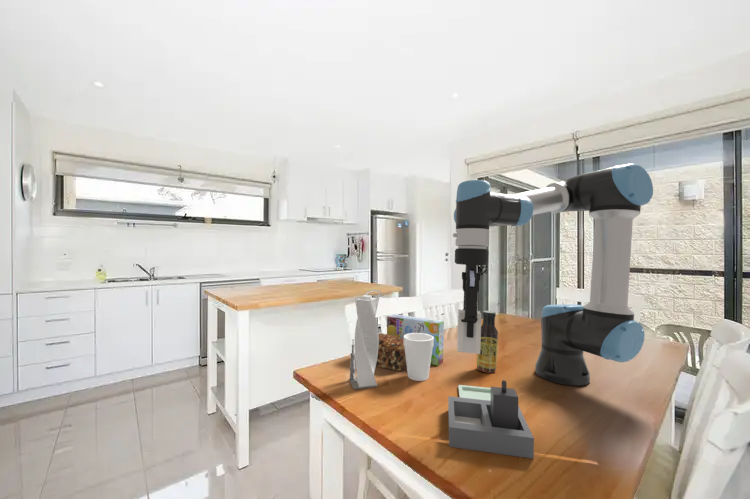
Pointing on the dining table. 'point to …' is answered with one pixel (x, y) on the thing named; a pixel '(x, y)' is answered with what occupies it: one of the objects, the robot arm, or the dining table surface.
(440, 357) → the snack box
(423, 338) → the foam cup
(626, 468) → the dining table surface
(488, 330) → the sauce bottle
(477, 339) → the white block with knob
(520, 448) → the grey desk organizer
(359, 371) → the skyscraper
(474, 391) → the tray
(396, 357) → the bread
